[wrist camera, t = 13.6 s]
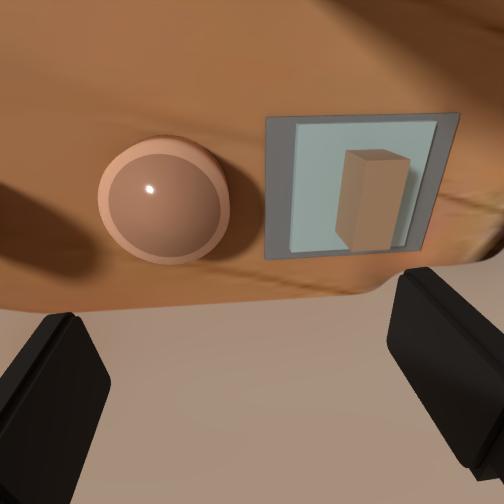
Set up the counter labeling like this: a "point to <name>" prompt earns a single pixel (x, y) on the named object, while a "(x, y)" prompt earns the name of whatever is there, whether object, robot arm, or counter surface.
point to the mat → (282, 170)
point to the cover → (356, 183)
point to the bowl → (165, 200)
